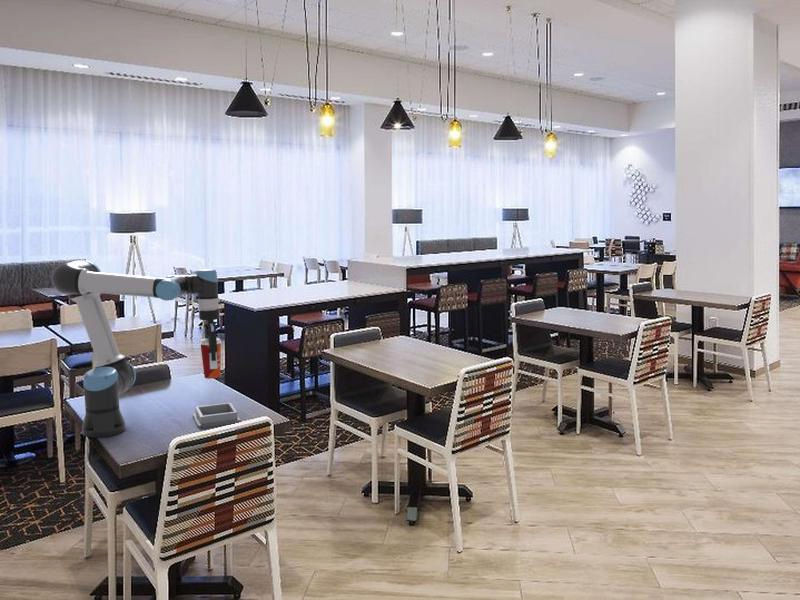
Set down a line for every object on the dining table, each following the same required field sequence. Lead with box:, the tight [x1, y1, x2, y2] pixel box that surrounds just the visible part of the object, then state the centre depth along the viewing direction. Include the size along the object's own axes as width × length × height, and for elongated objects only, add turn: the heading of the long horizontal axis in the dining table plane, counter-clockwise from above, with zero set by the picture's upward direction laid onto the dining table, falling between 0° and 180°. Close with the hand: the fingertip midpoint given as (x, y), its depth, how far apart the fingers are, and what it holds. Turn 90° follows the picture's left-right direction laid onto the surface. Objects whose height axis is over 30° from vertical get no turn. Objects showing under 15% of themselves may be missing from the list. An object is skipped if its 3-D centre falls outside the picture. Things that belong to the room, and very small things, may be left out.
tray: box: [192, 402, 242, 429], centre depth 267 cm, size 16×16×4 cm
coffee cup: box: [199, 337, 222, 380], centre depth 263 cm, size 8×8×15 cm
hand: (212, 366), depth 264 cm, fingers closed on coffee cup, 8 cm apart
